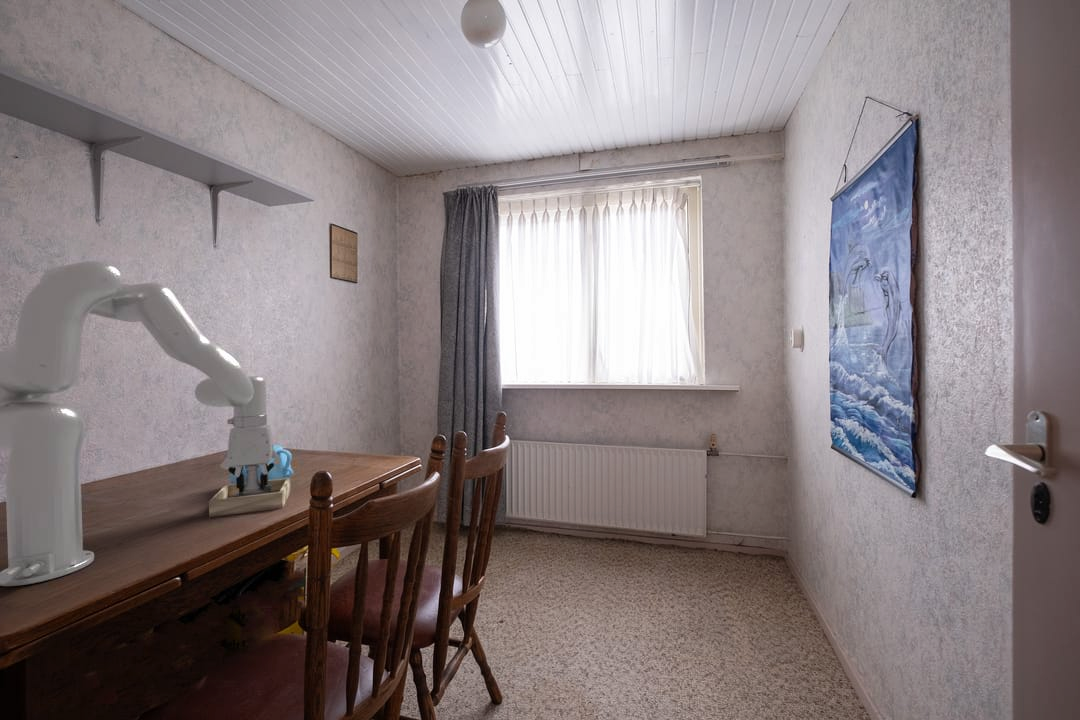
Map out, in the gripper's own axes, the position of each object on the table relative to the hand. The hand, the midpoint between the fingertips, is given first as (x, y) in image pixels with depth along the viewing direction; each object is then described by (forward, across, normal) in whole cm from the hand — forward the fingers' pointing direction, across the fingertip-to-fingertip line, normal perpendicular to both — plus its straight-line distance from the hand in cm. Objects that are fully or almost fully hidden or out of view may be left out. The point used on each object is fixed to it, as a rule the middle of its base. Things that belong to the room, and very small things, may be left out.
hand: (252, 488), depth 124 cm
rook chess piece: (+1, 0, 0) cm, 1 cm away
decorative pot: (+4, -1, +19) cm, 19 cm away
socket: (+4, 0, 0) cm, 4 cm away
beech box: (+4, 0, 0) cm, 4 cm away
